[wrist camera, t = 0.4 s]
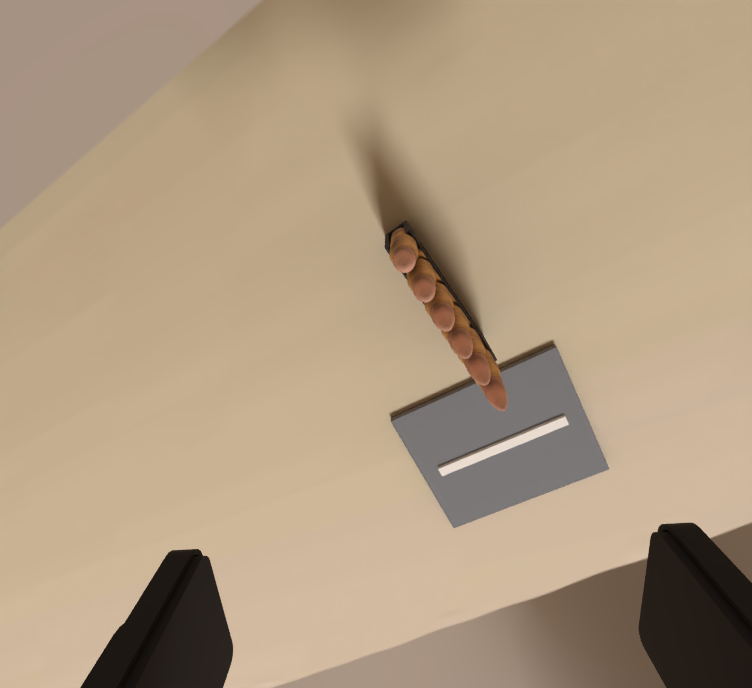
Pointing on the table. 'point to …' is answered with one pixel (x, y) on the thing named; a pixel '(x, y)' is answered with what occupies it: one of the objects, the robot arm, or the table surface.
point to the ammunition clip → (446, 311)
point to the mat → (502, 440)
